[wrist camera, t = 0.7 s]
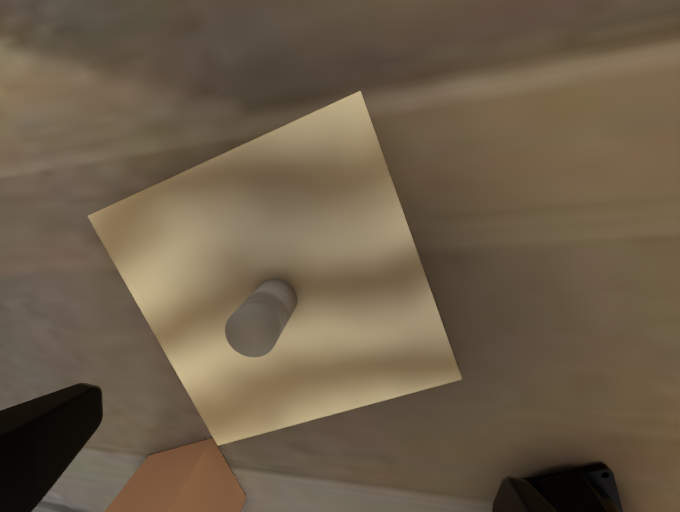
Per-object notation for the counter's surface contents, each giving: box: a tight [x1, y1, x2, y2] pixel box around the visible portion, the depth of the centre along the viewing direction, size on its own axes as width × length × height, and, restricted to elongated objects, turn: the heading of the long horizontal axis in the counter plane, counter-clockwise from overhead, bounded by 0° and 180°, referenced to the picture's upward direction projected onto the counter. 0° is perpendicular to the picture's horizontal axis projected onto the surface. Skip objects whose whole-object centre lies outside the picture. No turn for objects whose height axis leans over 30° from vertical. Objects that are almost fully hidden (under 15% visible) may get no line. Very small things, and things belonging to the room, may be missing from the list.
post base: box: [88, 91, 462, 445], centre depth 18 cm, size 18×18×6 cm
